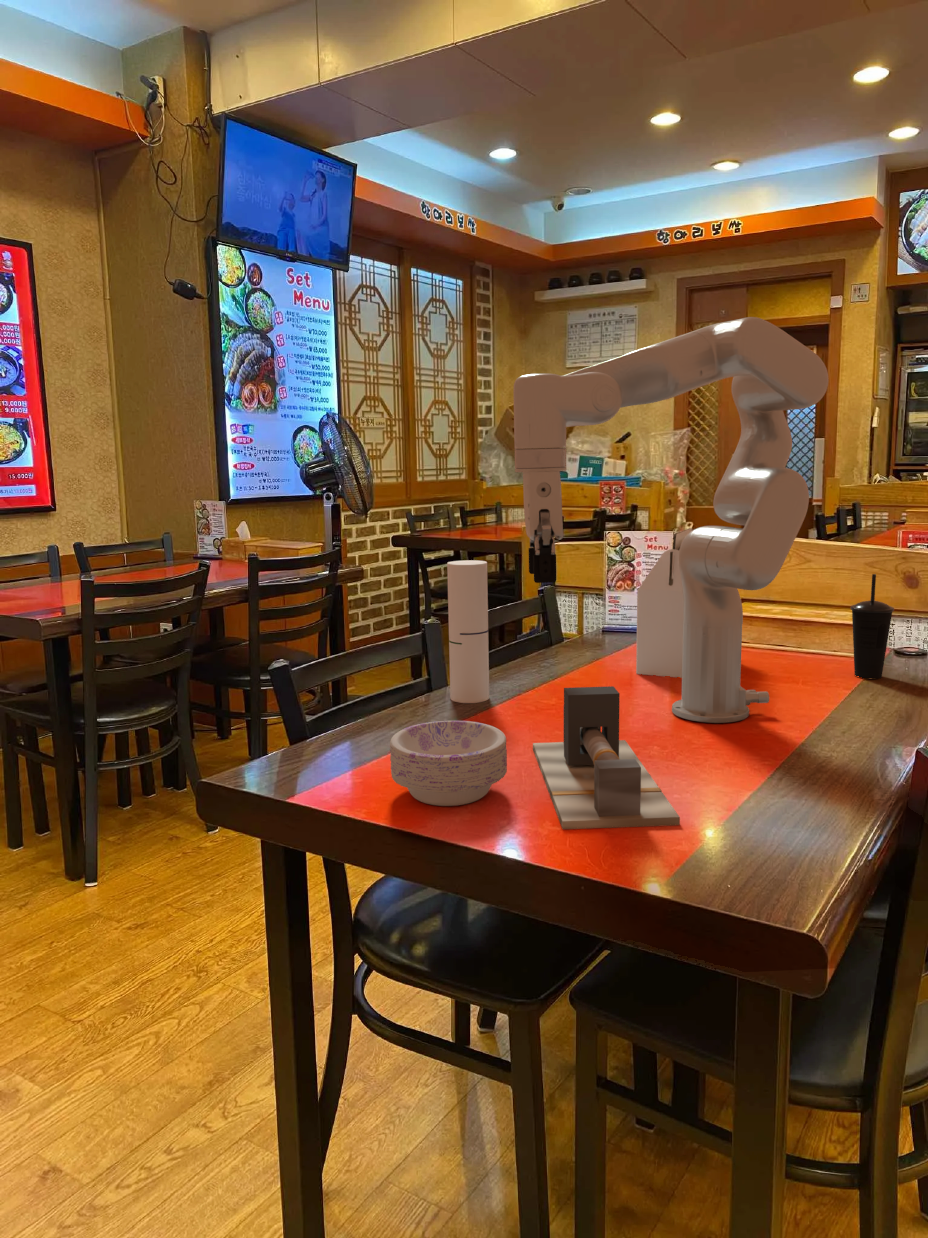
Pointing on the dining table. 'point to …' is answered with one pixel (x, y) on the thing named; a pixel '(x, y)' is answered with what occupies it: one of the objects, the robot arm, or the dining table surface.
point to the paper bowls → (448, 761)
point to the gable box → (661, 616)
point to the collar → (589, 719)
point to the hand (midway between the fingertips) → (542, 577)
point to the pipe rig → (602, 786)
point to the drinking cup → (870, 635)
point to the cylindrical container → (468, 631)
